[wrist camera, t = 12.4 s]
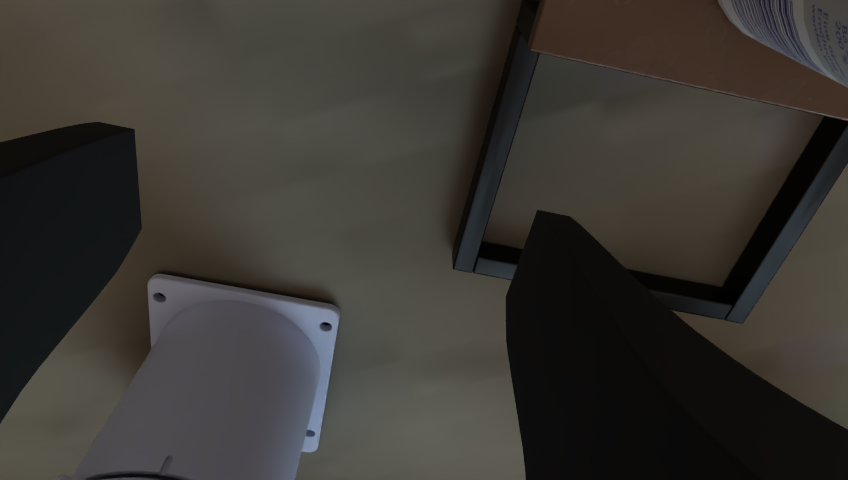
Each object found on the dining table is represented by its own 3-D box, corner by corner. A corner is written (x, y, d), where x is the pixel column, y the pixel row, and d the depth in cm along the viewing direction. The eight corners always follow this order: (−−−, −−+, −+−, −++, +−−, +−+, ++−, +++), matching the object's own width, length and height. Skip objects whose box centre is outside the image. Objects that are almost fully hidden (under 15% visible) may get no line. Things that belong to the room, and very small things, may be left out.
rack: (730, 305, 24) (787, 389, 20) (451, 252, 23) (453, 329, 19) (1068, -235, 15) (1297, -276, 11) (622, -362, 14) (695, -461, 10)
